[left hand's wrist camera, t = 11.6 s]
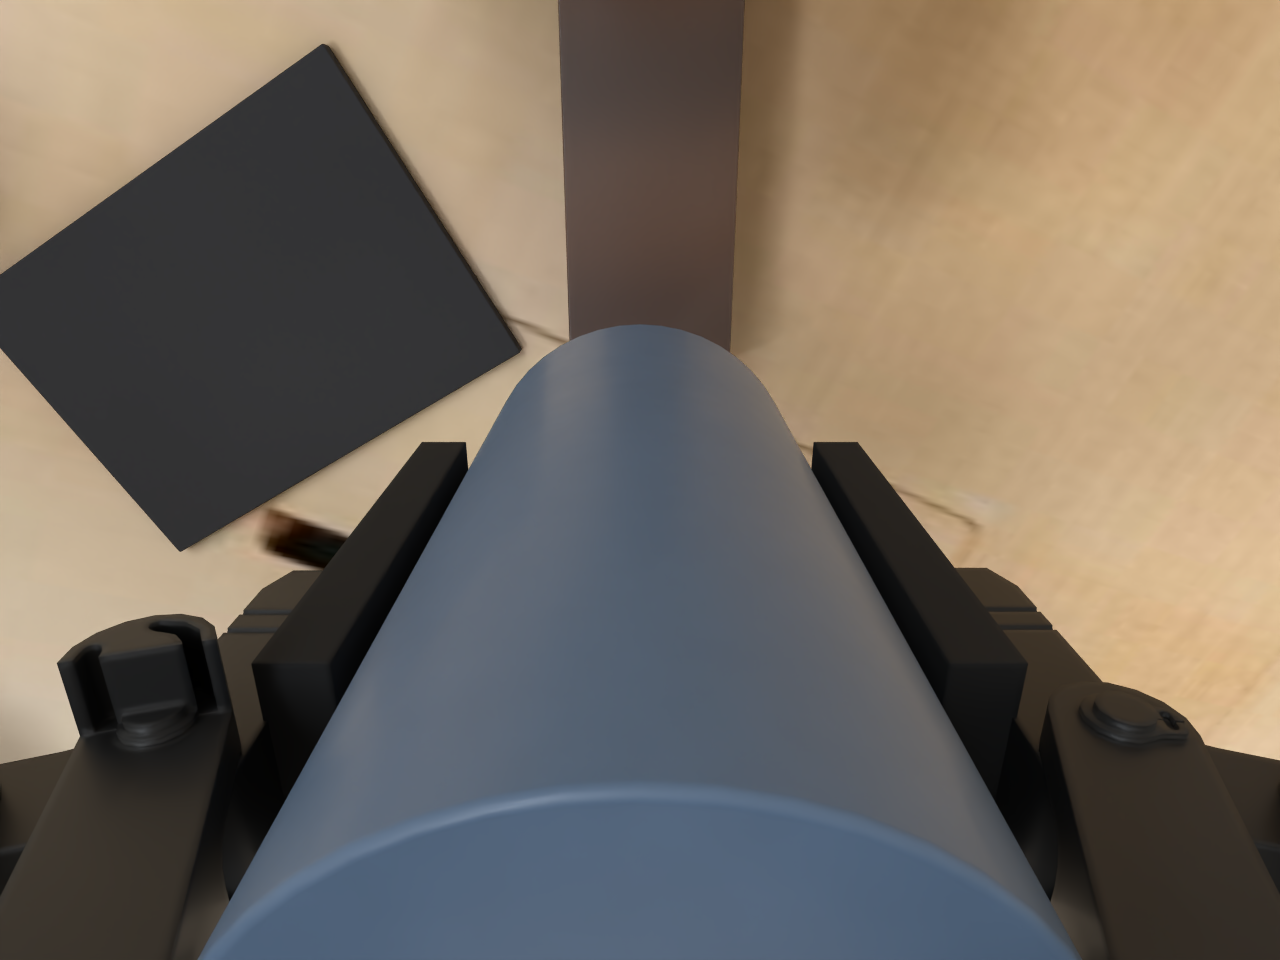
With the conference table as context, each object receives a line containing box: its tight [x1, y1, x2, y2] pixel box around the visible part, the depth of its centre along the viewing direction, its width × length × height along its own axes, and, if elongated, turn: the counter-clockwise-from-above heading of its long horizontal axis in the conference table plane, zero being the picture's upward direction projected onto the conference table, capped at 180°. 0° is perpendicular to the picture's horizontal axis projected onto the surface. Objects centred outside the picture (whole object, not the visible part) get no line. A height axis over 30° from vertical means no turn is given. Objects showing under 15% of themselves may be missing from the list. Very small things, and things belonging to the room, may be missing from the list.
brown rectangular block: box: [558, 0, 745, 353], centre depth 29 cm, size 22×6×6 cm, turn 0°
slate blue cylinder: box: [197, 324, 1082, 960], centre depth 11 cm, size 6×6×12 cm
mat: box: [0, 44, 522, 552], centre depth 35 cm, size 20×14×1 cm
